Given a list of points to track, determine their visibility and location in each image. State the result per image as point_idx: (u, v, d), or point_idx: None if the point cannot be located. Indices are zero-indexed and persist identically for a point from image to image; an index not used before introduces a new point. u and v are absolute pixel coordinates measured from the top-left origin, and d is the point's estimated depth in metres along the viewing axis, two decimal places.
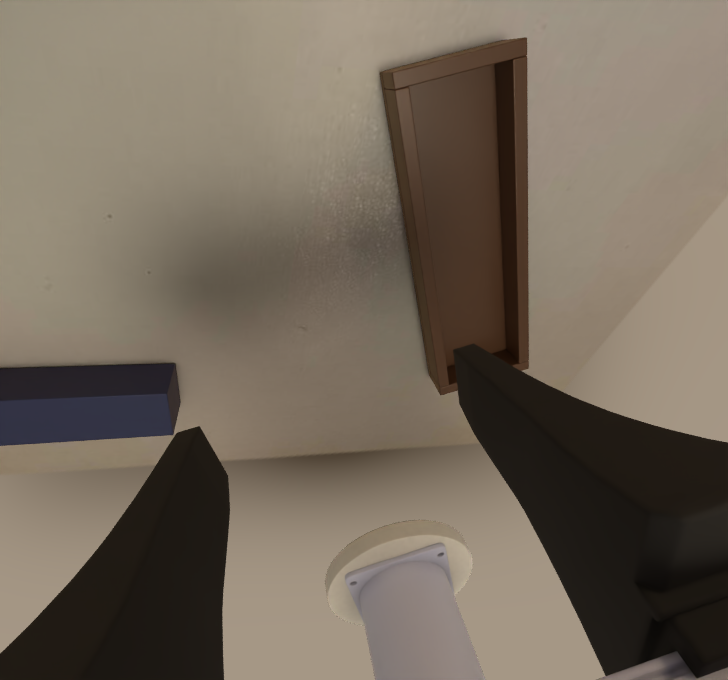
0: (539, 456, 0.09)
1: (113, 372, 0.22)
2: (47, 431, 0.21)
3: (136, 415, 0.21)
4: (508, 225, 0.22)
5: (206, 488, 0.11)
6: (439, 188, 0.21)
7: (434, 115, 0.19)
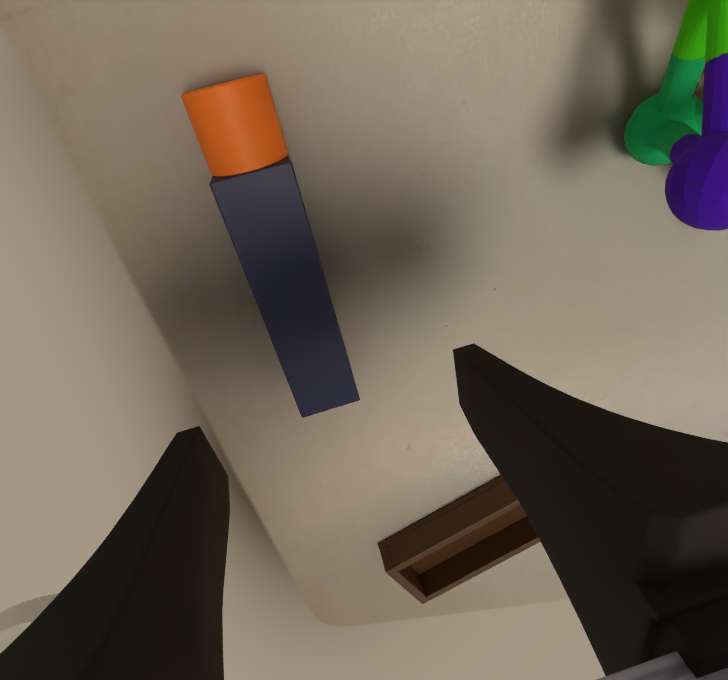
0: (539, 456, 0.09)
1: None
2: (279, 306, 0.16)
3: (325, 382, 0.18)
4: (526, 529, 0.30)
5: (206, 488, 0.11)
6: None
7: None
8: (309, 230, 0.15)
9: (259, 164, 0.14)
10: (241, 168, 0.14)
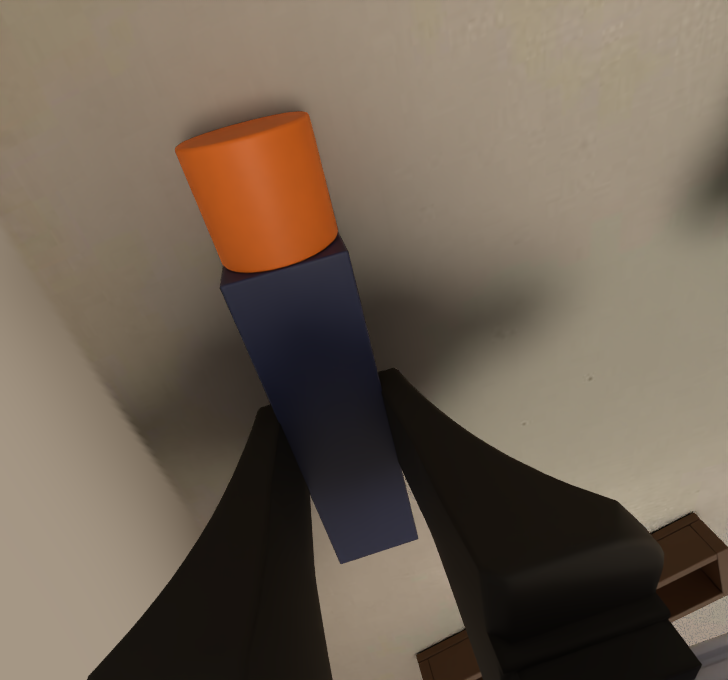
0: (428, 491, 0.09)
1: None
2: (318, 441, 0.11)
3: (374, 523, 0.13)
4: None
5: (293, 461, 0.11)
6: None
7: None
8: (368, 343, 0.10)
9: (298, 256, 0.09)
10: (270, 263, 0.09)
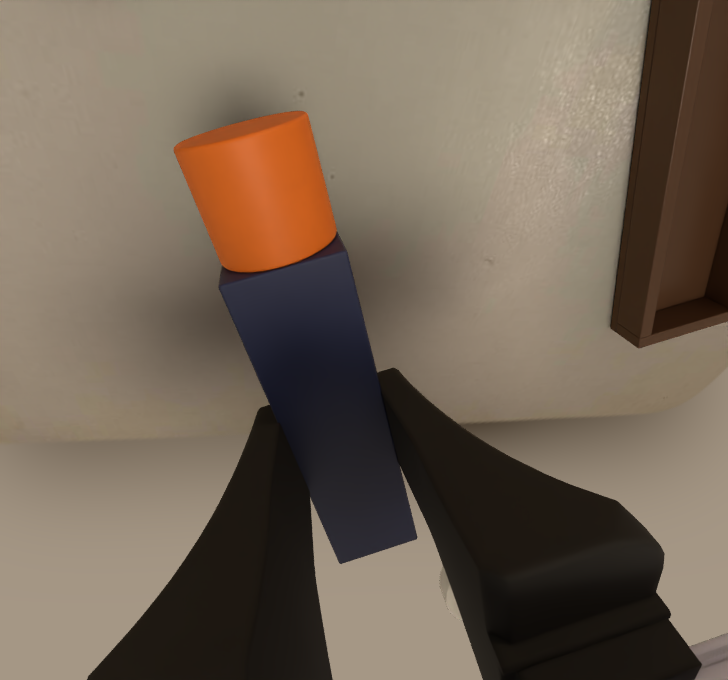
0: (428, 491, 0.09)
1: None
2: (317, 441, 0.11)
3: (373, 523, 0.13)
4: None
5: (293, 461, 0.11)
6: None
7: None
8: (367, 343, 0.10)
9: (297, 255, 0.09)
10: (269, 262, 0.09)
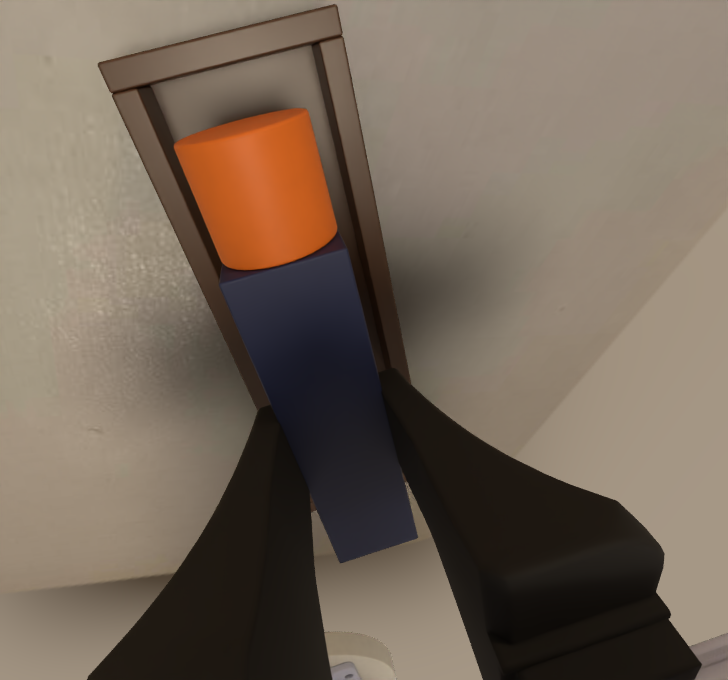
0: (428, 491, 0.09)
1: None
2: (317, 439, 0.11)
3: (374, 522, 0.13)
4: (370, 292, 0.15)
5: (293, 461, 0.11)
6: None
7: None
8: (368, 341, 0.10)
9: (297, 253, 0.09)
10: (269, 260, 0.09)
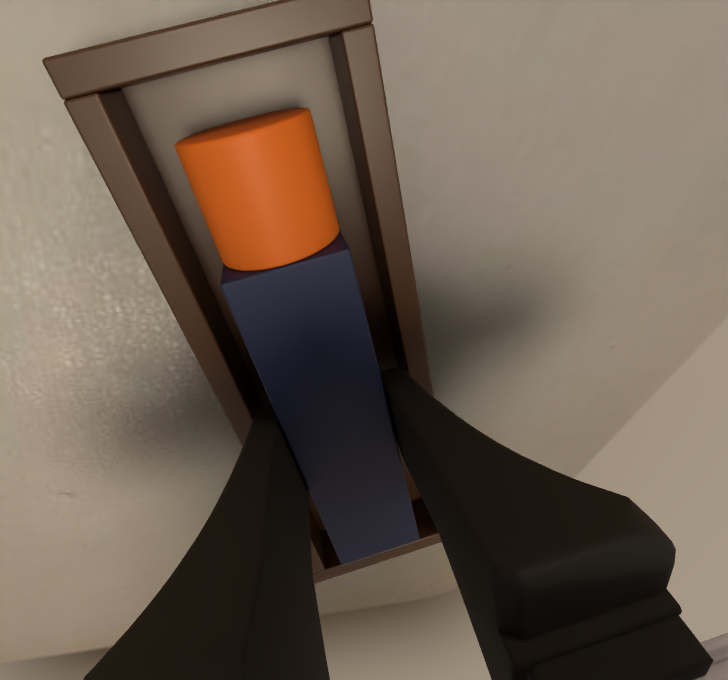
0: (436, 489, 0.09)
1: None
2: (319, 441, 0.11)
3: (375, 524, 0.13)
4: (395, 337, 0.12)
5: (291, 461, 0.11)
6: None
7: None
8: (370, 342, 0.10)
9: (299, 254, 0.09)
10: (271, 261, 0.08)
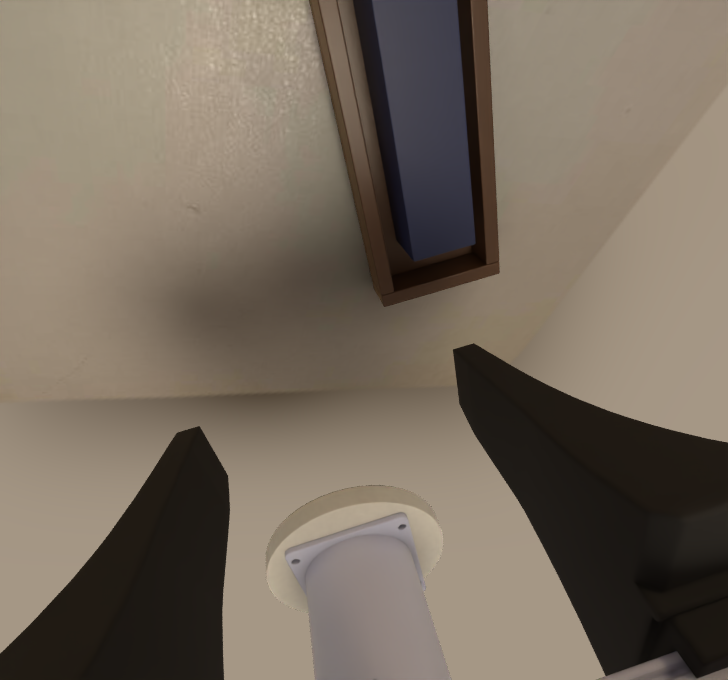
0: (539, 456, 0.09)
1: None
2: (411, 107, 0.15)
3: (443, 216, 0.17)
4: (463, 50, 0.16)
5: (206, 488, 0.11)
6: None
7: None
8: (456, 4, 0.13)
9: None
10: None
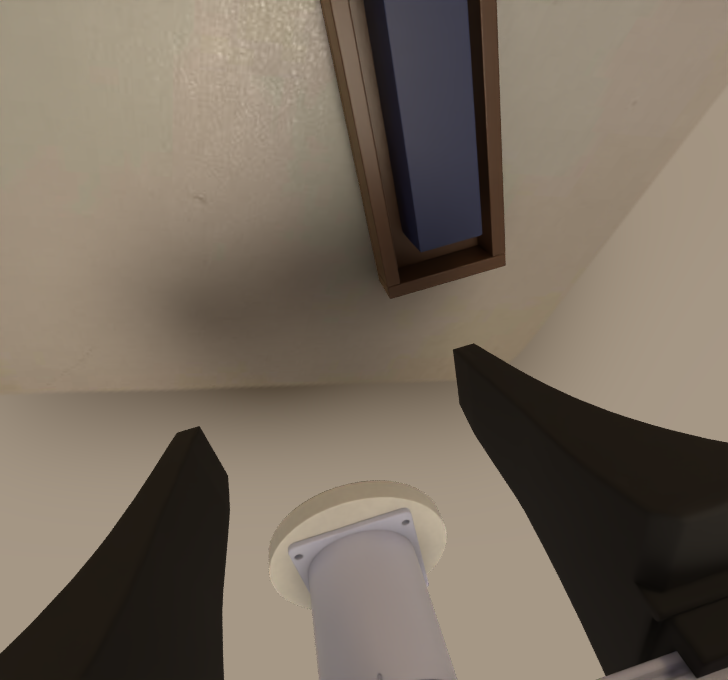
0: (539, 456, 0.09)
1: None
2: (419, 96, 0.15)
3: (450, 206, 0.17)
4: (471, 39, 0.16)
5: (206, 488, 0.11)
6: None
7: None
8: None
9: None
10: None
